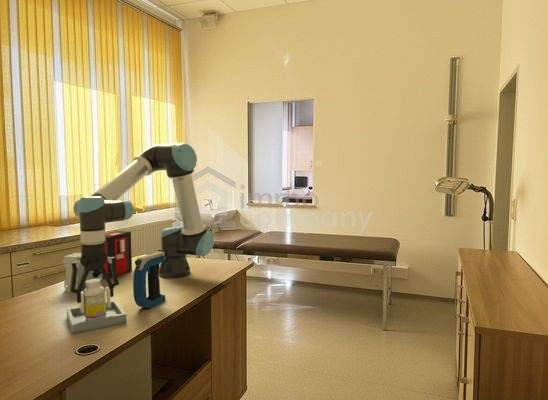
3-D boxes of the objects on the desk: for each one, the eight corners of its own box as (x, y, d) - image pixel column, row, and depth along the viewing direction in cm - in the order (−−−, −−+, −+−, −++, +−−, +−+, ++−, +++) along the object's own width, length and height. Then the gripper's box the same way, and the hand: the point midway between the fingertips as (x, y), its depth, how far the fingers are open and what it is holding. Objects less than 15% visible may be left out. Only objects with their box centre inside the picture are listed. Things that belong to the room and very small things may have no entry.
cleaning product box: (109, 279, 175) (108, 237, 173) (93, 278, 177) (92, 236, 175) (131, 270, 190) (130, 231, 189) (117, 269, 193) (115, 231, 191)
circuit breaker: (94, 293, 155) (93, 258, 154) (64, 291, 158) (63, 256, 157) (106, 288, 162) (104, 254, 161) (77, 286, 165) (75, 252, 164)
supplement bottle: (89, 314, 131) (86, 278, 130) (109, 312, 131) (106, 277, 130) (81, 322, 124) (78, 284, 123) (102, 320, 125) (99, 282, 123)
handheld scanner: (170, 298, 149) (168, 249, 148) (143, 313, 134) (141, 258, 132) (160, 297, 150) (158, 249, 149) (133, 311, 135) (130, 258, 134)
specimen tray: (116, 308, 139) (115, 300, 139) (126, 322, 126) (126, 313, 125) (66, 317, 130) (66, 309, 130) (72, 334, 117) (72, 325, 116)
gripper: (122, 237, 134) (124, 300, 136) (57, 244, 123) (60, 311, 125) (127, 241, 128) (129, 306, 130) (59, 248, 117) (62, 319, 119)
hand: (95, 308), depth 127 cm, fingers open, 7 cm apart
